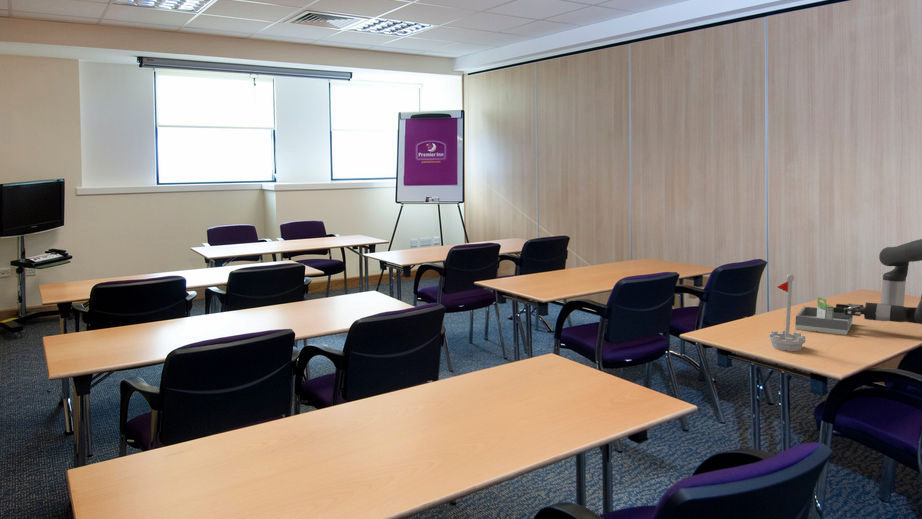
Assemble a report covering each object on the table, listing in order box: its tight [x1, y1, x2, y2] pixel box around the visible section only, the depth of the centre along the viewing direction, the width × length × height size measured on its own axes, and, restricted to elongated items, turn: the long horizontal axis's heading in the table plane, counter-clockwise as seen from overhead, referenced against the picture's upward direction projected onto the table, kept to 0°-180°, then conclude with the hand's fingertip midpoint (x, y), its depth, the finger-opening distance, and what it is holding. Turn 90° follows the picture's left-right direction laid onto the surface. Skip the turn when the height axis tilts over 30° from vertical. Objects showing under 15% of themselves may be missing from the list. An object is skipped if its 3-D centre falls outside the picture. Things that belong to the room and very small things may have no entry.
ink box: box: [816, 296, 834, 319], centre depth 289 cm, size 7×4×13 cm, turn 179°
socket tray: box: [794, 306, 853, 336], centre depth 290 cm, size 24×20×6 cm
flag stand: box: [768, 273, 806, 352], centre depth 256 cm, size 13×13×30 cm
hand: (834, 307), depth 287 cm, fingers open, 8 cm apart
